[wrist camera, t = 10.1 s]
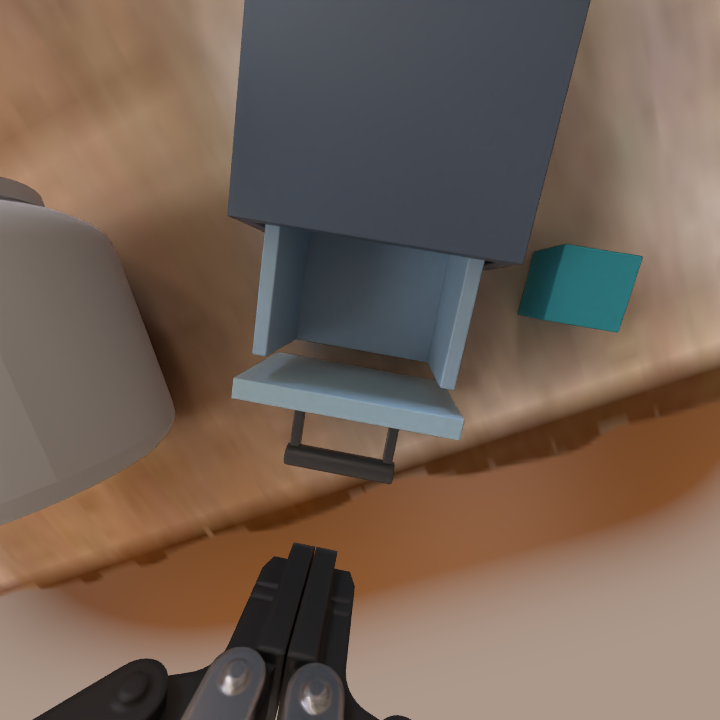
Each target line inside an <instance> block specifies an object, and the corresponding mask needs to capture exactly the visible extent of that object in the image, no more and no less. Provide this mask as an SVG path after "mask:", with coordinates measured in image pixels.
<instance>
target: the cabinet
mask: <svg viewBox="0 0 720 720" xmlns="http://www.w3.org/2000/svg"><path fill="white" fill-rule="evenodd" d="M589 4H590V0H245V4H244V17H243V29H242V42H241V54H240V66H239V79H238V91H237V104H236V116H235V128H234V141H233V153H232V165H231V178H230V190H229V203H228V216H230V217H232V218H234V219H237V220H239V221H241V222H243V223H246V224H248V225H250V226H252V227H254V228H257V229H259V230H261V231H263V232H265V224H267V225H273V226H280V227H286V228H292V229H298V230H304V231H310V232H316V233H322V234H328V235H334V236H340V237H346V238H352V239H358V240H364V241H370V242H376V243H382V244H388V245H395V246H401V247H407V248H413V249H419V250H425V251H431V252H437V253H443V254H449V255H455V256H461V257H467V258H473V259H479V260H485V262H484V266H483V270H482V271H485V270H491V269H497V268H503V267H509V266H514V265H521V264H523V262H524V258H525V254H526V250H527V246H528V242H529V239H530V235H531V231H532V227H533V223H534V219H535V215H536V211H537V207H538V203H539V200H540V196H541V192H542V188H543V184H544V180H545V176H546V172H547V168H548V164H549V160H550V157H551V153H552V149H553V145H554V141H555V137H556V133H557V129H558V125H559V121H560V118H561V114H562V110H563V106H564V102H565V98H566V94H567V90H568V86H569V82H570V78H571V75H572V71H573V67H574V63H575V59H576V55H577V51H578V47H579V43H580V39H581V36H582V32H583V28H584V24H585V20H586V16H587V12H588V8H589Z"/></svg>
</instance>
